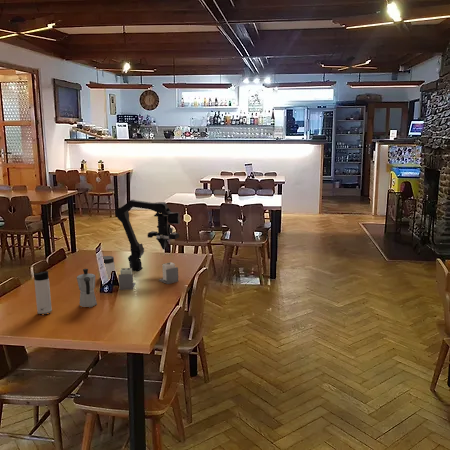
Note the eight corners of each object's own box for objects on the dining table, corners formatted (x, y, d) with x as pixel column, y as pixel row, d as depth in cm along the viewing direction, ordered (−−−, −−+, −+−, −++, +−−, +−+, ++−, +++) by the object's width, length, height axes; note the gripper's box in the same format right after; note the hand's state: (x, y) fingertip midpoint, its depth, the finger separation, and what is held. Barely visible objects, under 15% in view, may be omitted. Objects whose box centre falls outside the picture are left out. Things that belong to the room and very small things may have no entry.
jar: (99, 276, 277) (97, 256, 274) (113, 274, 280) (112, 255, 277) (101, 280, 268) (100, 260, 266) (116, 278, 272) (114, 258, 269)
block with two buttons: (122, 284, 258) (121, 267, 256) (132, 283, 258) (132, 267, 256) (121, 286, 254) (120, 269, 252) (131, 286, 254) (130, 269, 253)
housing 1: (121, 284, 261) (121, 270, 259) (135, 284, 261) (134, 270, 260) (119, 289, 253) (118, 275, 251) (133, 289, 253) (132, 274, 251)
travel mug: (43, 316, 217) (39, 274, 213) (34, 313, 220) (30, 272, 217) (55, 312, 222) (51, 270, 218) (46, 309, 226) (42, 268, 222)
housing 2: (158, 280, 266) (158, 267, 265) (169, 278, 271) (168, 264, 270) (168, 284, 260) (167, 270, 259) (178, 281, 265) (177, 267, 264)
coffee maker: (77, 301, 235) (75, 266, 232) (96, 299, 238) (93, 264, 235) (80, 312, 222) (77, 274, 218) (99, 309, 225) (96, 272, 221)
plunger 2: (163, 279, 265) (162, 263, 263) (171, 277, 268) (170, 261, 267) (167, 281, 262) (166, 265, 260) (175, 278, 266) (174, 263, 264)
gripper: (183, 222, 285) (183, 247, 288) (155, 220, 292) (156, 245, 295) (174, 225, 275) (175, 251, 278) (146, 223, 282) (147, 249, 285)
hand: (163, 249), depth 285 cm, fingers closed
